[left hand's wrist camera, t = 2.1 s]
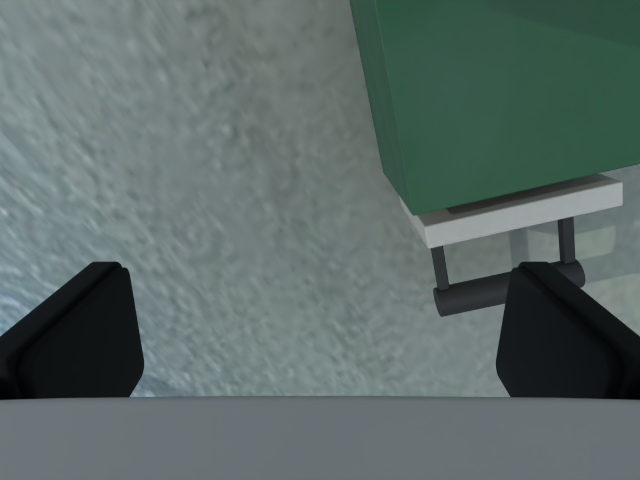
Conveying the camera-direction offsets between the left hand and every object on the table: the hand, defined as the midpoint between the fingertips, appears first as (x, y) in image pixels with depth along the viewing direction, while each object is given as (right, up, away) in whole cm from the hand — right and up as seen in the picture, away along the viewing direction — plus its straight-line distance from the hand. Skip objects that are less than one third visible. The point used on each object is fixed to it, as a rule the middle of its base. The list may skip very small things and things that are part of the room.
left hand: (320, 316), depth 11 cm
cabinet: (+8, +14, +15) cm, 22 cm away
